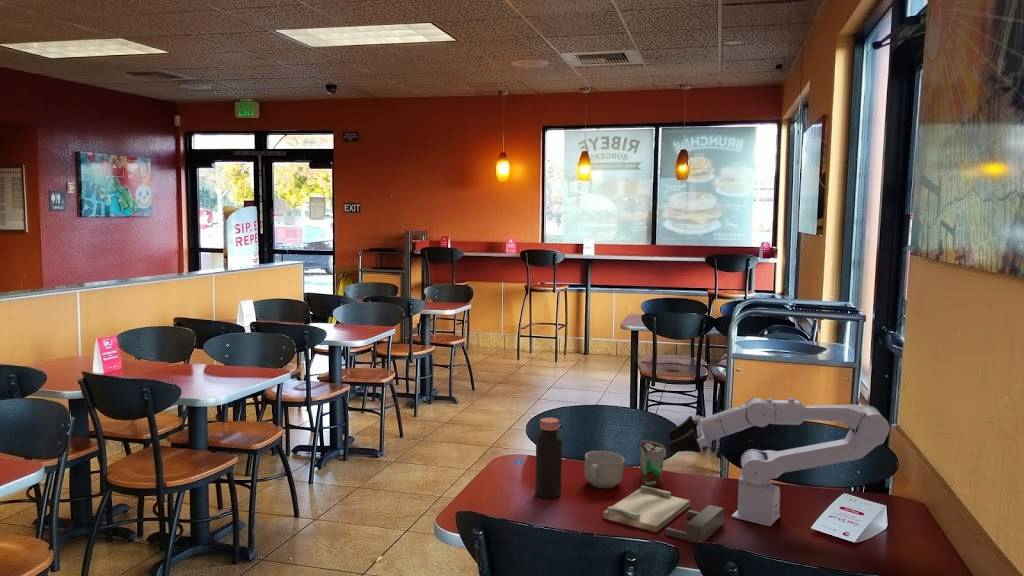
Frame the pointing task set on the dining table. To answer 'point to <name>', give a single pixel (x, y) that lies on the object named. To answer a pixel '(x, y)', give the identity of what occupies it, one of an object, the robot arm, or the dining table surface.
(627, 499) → the display stand
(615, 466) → the teacup
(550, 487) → the bottle
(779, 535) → the dining table surface
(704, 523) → the grey boxy piece
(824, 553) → the dining table surface
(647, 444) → the food container
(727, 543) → the dining table surface
